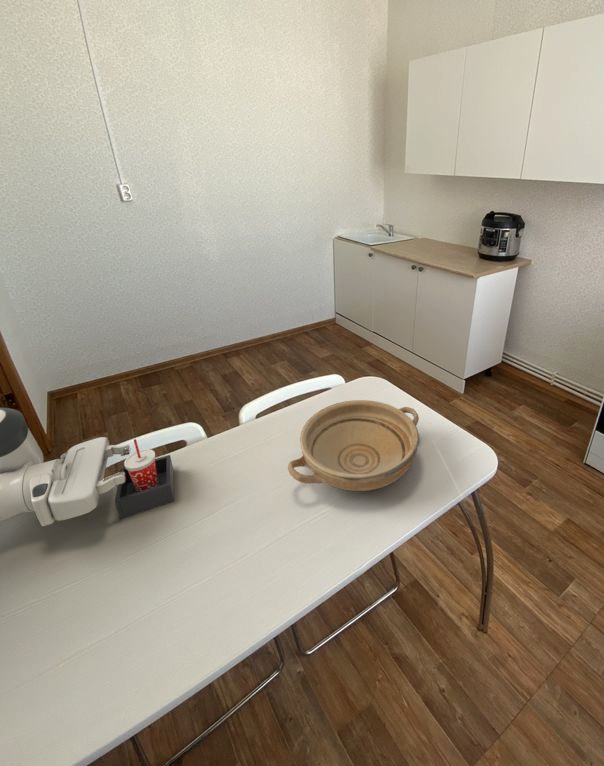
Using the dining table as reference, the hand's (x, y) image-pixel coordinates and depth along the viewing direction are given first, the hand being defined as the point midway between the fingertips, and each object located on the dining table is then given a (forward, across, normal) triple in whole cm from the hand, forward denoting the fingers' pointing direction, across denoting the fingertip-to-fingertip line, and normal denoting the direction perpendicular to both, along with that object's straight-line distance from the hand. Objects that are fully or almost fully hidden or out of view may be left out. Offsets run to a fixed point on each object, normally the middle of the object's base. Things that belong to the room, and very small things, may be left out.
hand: (127, 462), depth 84 cm
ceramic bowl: (+50, +13, -10) cm, 53 cm away
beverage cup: (+2, 0, -9) cm, 10 cm away
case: (+2, 0, -10) cm, 10 cm away
